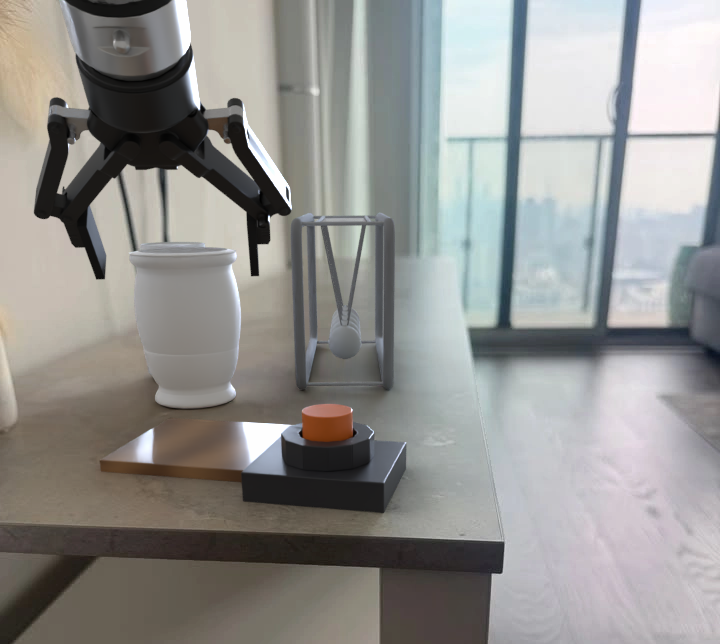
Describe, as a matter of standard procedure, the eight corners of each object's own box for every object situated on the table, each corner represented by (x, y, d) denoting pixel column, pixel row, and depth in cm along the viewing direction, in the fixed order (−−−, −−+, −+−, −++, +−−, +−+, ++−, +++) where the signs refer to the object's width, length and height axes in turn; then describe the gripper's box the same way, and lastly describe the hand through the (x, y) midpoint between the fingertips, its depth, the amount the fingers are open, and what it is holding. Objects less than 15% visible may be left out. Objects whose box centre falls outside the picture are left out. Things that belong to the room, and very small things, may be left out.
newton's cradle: (310, 343, 108) (306, 212, 102) (382, 342, 108) (383, 212, 102) (295, 394, 80) (289, 218, 74) (393, 393, 80) (395, 218, 74)
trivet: (100, 471, 58) (98, 459, 58) (170, 428, 69) (169, 417, 68) (246, 483, 55) (246, 470, 55) (295, 435, 66) (295, 424, 66)
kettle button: (296, 443, 52) (295, 415, 52) (310, 429, 56) (309, 402, 55) (346, 447, 52) (345, 418, 51) (357, 432, 55) (357, 404, 54)
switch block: (242, 502, 52) (238, 447, 51) (283, 460, 60) (281, 412, 59) (383, 513, 50) (384, 457, 48) (406, 468, 58) (407, 419, 57)
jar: (247, 410, 74) (237, 252, 69) (139, 415, 73) (121, 254, 67) (244, 385, 84) (236, 245, 79) (150, 389, 82) (134, 247, 77)
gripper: (-79, 84, 46) (31, 303, 65) (329, 87, 48) (319, 296, 68) (-62, 4, 49) (38, 235, 68) (321, 11, 51) (313, 231, 71)
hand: (178, 266), depth 68 cm, fingers open, 13 cm apart
